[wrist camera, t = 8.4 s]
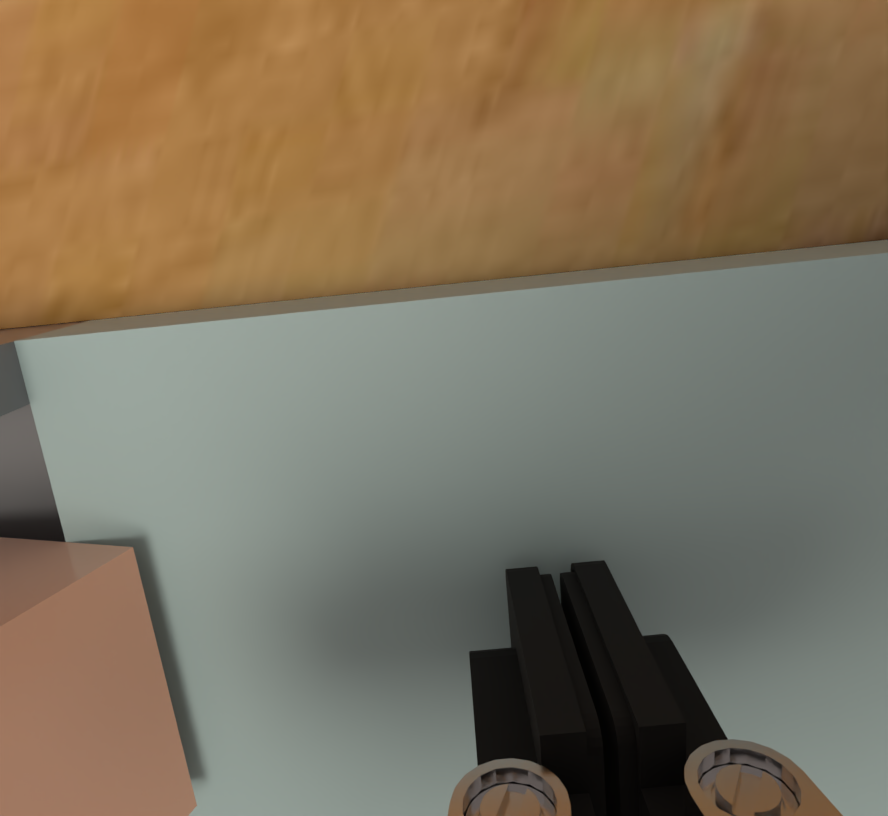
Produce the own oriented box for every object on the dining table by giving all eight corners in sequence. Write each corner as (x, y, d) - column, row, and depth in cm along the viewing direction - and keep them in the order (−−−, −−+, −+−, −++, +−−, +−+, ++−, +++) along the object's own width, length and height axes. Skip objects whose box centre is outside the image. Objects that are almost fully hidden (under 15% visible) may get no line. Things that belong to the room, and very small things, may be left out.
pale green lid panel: (1150, 212, 13) (1316, 209, 10) (1067, 750, 16) (1180, 843, 14) (91, 320, 13) (13, 341, 11) (208, 832, 16) (168, 938, 14)
